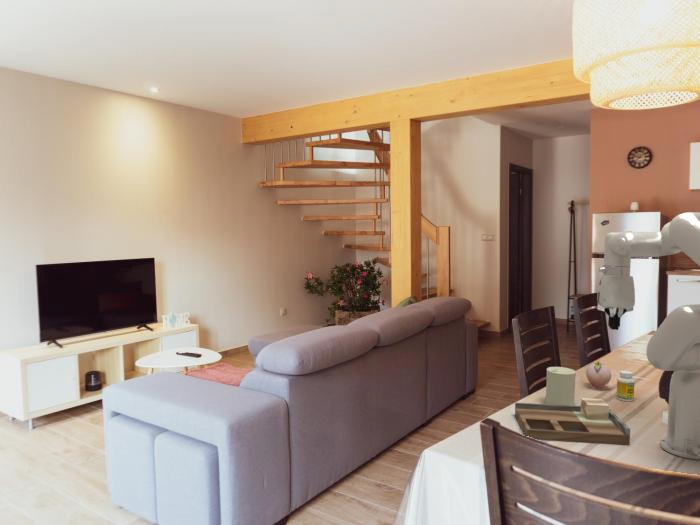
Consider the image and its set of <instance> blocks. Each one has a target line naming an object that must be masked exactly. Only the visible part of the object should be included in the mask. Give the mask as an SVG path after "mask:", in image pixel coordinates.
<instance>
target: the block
mask: <svg viewBox="0 0 700 525" xmlns="http://www.w3.org/2000/svg"><path fill="white" fill-rule="evenodd" d="M580 406H581V414H582V415H583V416H584V417H585V418H586V419H587V420H605V421H608V419H609V409H610V405H609V404H608V403H606V401H604V400H603V399H602V398H583V397H581V398H580Z"/></svg>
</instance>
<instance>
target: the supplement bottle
mask: <svg viewBox="0 0 700 525" xmlns="http://www.w3.org/2000/svg"><path fill="white" fill-rule="evenodd" d="M633 376H634V374H633V372H632V371H628V370H620V371H619V376H618V377H617V380H616V382H617V383H616V399H617V400H619V401H621V402H622V401H623V402H633V401H634V399H635V379H634V378H633Z"/></svg>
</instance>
